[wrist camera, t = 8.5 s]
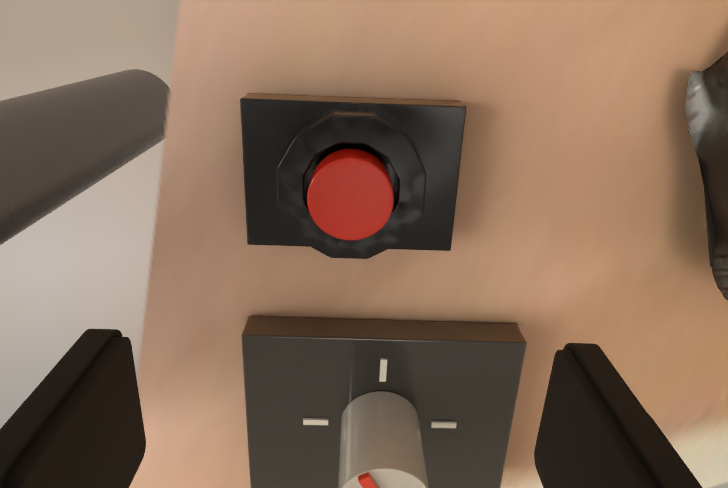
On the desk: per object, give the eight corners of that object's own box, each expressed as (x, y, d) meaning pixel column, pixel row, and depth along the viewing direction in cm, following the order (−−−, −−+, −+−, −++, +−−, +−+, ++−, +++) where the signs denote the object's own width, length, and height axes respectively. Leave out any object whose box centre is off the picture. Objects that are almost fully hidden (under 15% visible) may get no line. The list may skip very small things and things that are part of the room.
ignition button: (310, 225, 25) (307, 239, 23) (310, 146, 23) (306, 156, 22) (389, 227, 25) (391, 242, 23) (394, 149, 23) (396, 159, 22)
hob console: (256, 466, 34) (250, 493, 32) (248, 315, 30) (240, 336, 28) (491, 471, 35) (499, 498, 33) (517, 322, 30) (528, 344, 28)
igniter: (253, 232, 28) (239, 260, 25) (247, 93, 25) (230, 104, 22) (445, 238, 28) (456, 266, 25) (459, 100, 26) (474, 113, 22)
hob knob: (431, 435, 31) (446, 523, 26) (362, 462, 32) (363, 554, 26) (398, 379, 29) (406, 460, 24) (326, 409, 30) (319, 494, 25)
